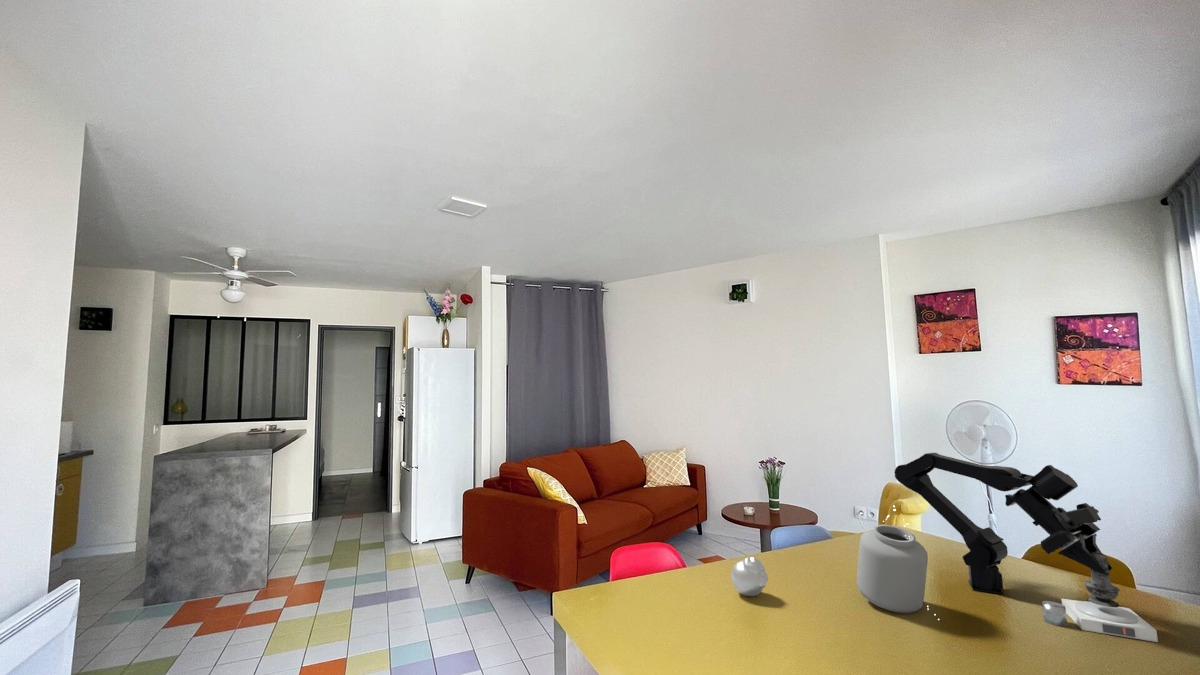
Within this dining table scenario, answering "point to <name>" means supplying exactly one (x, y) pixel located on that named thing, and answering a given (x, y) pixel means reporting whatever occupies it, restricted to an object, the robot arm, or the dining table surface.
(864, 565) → the jar
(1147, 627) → the scale
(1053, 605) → the spacer
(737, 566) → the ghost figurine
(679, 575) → the dining table surface
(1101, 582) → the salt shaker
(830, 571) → the dining table surface
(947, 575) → the dining table surface
